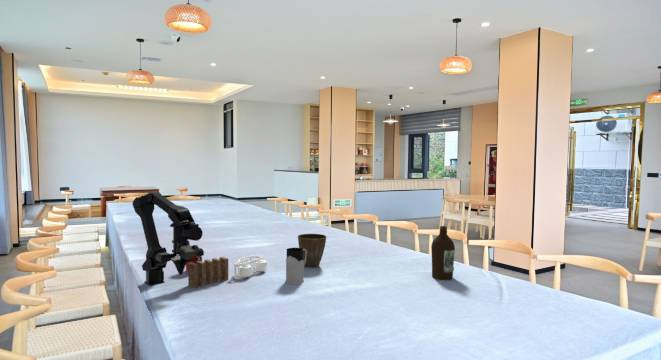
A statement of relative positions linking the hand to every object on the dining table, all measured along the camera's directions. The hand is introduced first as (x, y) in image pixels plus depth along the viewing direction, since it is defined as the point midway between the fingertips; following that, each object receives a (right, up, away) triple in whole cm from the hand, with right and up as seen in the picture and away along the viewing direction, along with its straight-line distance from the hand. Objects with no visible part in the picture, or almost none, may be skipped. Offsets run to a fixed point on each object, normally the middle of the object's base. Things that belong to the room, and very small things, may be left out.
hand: (180, 274), depth 172 cm
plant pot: (+54, -5, +40) cm, 67 cm away
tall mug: (+49, -6, +15) cm, 51 cm away
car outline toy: (+24, -6, +24) cm, 34 cm away
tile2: (+6, -6, +7) cm, 11 cm away
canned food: (-4, -5, +29) cm, 30 cm away
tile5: (+14, -6, +15) cm, 22 cm away
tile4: (+12, -6, +12) cm, 18 cm away
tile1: (+4, -6, +4) cm, 8 cm away
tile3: (+9, -6, +10) cm, 14 cm away
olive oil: (+116, -7, +20) cm, 118 cm away
